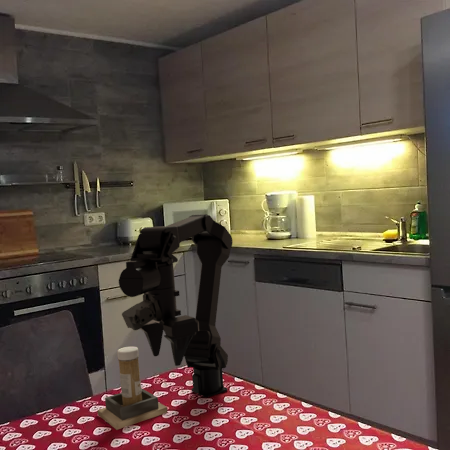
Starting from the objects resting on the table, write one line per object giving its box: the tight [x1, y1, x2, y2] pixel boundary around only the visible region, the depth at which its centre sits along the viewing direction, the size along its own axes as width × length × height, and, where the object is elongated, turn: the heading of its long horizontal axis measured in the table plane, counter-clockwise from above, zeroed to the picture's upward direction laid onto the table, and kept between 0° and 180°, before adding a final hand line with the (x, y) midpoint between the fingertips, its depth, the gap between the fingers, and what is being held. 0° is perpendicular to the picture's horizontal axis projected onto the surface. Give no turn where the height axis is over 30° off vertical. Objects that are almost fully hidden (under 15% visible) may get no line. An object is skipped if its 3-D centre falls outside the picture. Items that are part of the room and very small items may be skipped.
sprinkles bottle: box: [116, 346, 142, 407], centre depth 120 cm, size 5×5×14 cm
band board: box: [97, 387, 168, 431], centre depth 121 cm, size 12×10×4 cm
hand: (166, 360), depth 115 cm, fingers open, 9 cm apart
